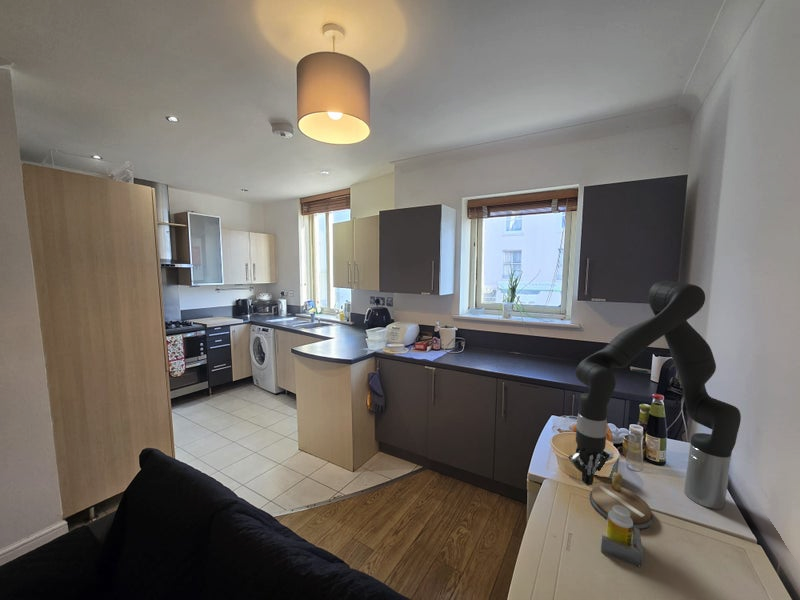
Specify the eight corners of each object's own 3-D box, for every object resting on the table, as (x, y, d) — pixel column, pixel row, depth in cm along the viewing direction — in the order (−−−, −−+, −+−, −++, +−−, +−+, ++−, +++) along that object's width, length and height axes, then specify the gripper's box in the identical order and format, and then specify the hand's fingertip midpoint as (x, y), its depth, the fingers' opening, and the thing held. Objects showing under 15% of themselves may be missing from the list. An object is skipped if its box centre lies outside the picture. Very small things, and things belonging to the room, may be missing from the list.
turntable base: (617, 485, 107) (617, 483, 107) (666, 524, 92) (667, 521, 92) (577, 494, 104) (578, 491, 103) (622, 535, 88) (622, 532, 88)
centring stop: (634, 539, 87) (636, 526, 86) (659, 561, 80) (660, 547, 80) (598, 549, 84) (599, 535, 83) (620, 572, 78) (622, 558, 77)
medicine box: (613, 472, 114) (615, 450, 113) (617, 481, 110) (619, 458, 109) (588, 468, 116) (590, 446, 115) (591, 475, 112) (593, 453, 111)
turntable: (580, 494, 102) (582, 476, 101) (612, 482, 107) (613, 465, 106) (629, 531, 88) (631, 511, 87) (662, 515, 93) (664, 496, 93)
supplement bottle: (629, 557, 82) (633, 522, 80) (604, 545, 85) (607, 511, 84) (631, 543, 86) (635, 509, 84) (607, 531, 89) (610, 499, 88)
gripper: (582, 440, 87) (578, 496, 90) (620, 433, 90) (616, 488, 93) (562, 426, 95) (559, 479, 97) (598, 420, 98) (595, 471, 100)
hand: (587, 483), depth 95 cm, fingers closed
